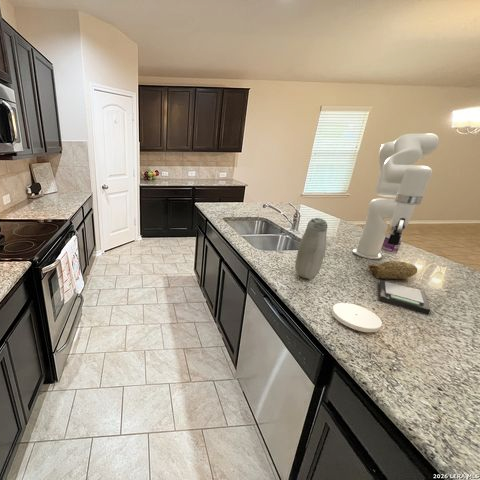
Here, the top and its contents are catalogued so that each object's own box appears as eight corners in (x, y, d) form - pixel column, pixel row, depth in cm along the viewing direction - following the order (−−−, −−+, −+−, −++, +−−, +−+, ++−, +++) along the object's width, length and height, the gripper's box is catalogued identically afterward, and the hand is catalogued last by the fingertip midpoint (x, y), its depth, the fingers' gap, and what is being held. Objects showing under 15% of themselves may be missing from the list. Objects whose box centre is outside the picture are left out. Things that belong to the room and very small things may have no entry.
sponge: (381, 284, 114) (431, 279, 110) (380, 268, 112) (431, 262, 109) (362, 275, 126) (407, 270, 123) (361, 260, 125) (406, 254, 122)
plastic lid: (366, 311, 94) (368, 305, 93) (389, 338, 81) (391, 331, 80) (324, 306, 96) (326, 300, 96) (340, 331, 84) (342, 324, 83)
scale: (378, 284, 112) (380, 278, 111) (422, 295, 103) (424, 289, 102) (379, 300, 100) (381, 294, 99) (428, 315, 92) (431, 308, 91)
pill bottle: (395, 256, 104) (403, 234, 100) (379, 252, 108) (386, 230, 104) (397, 252, 107) (406, 231, 104) (381, 248, 111) (389, 228, 107)
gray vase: (320, 282, 112) (337, 223, 102) (296, 280, 114) (310, 221, 104) (313, 272, 121) (327, 216, 111) (290, 270, 123) (302, 215, 113)
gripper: (394, 195, 108) (380, 235, 114) (396, 201, 95) (380, 245, 102) (418, 197, 103) (402, 238, 110) (424, 204, 91) (405, 250, 97)
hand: (392, 241), depth 106 cm, fingers closed on pill bottle, 5 cm apart
